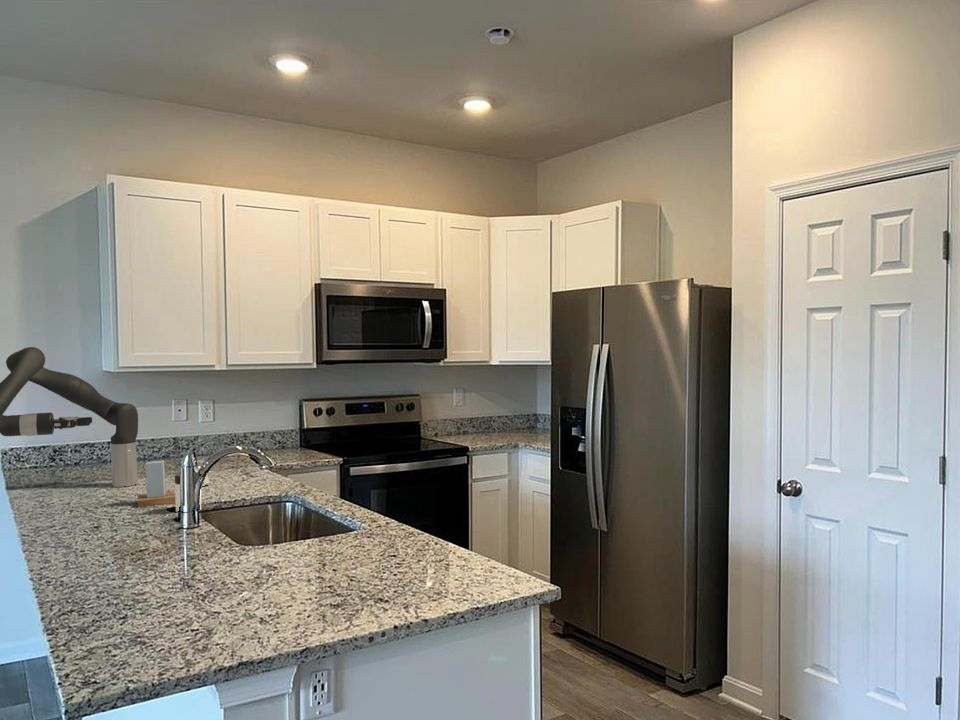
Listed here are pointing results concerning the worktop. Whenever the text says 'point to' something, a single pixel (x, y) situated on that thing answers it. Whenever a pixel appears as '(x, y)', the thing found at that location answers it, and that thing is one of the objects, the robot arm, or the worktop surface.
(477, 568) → the worktop surface
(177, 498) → the jar
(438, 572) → the worktop surface
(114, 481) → the robot arm
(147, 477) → the pillar
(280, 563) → the worktop surface
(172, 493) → the slab
